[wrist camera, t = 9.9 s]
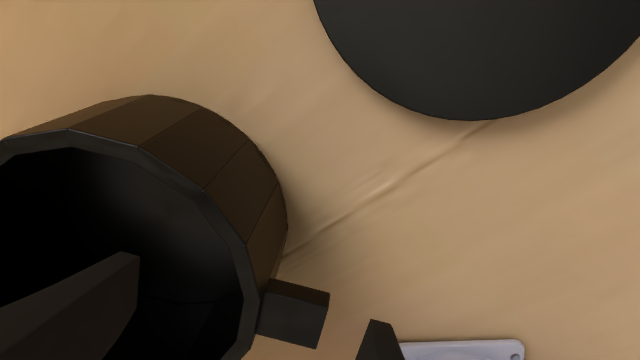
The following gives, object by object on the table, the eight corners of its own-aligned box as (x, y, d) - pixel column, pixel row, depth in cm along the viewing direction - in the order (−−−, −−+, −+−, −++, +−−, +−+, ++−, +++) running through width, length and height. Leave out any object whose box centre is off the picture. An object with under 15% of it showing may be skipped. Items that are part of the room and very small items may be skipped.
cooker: (308, 341, 25) (289, 443, 19) (18, 266, 25) (-87, 345, 19) (364, 145, 20) (362, 203, 14) (-1, 52, 20) (-154, 72, 14)
